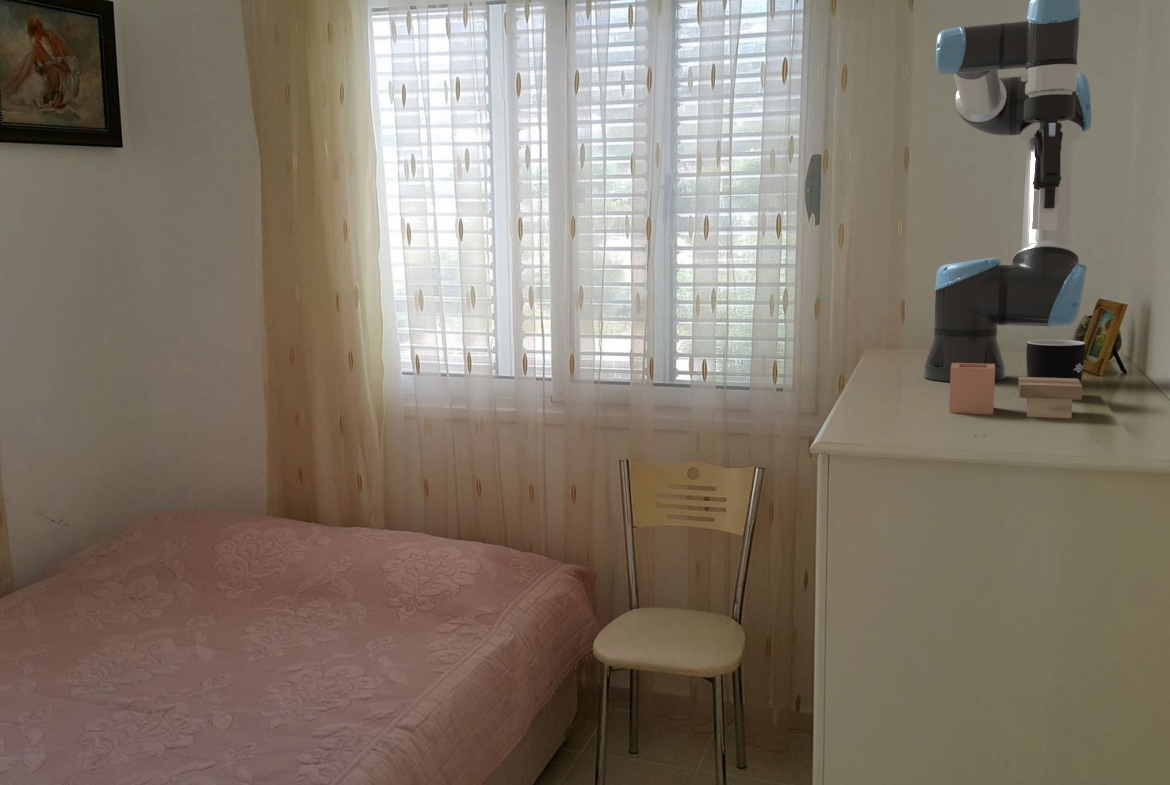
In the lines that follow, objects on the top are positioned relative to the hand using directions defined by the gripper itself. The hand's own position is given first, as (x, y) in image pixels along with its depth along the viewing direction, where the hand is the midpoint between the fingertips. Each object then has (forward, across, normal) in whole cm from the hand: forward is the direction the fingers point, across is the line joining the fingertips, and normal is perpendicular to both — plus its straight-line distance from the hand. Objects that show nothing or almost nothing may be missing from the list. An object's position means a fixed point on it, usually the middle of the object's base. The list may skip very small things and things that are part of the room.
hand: (1043, 229), depth 166 cm
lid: (+25, +16, 0) cm, 30 cm away
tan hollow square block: (+29, +15, -10) cm, 34 cm away
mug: (+29, -4, +3) cm, 29 cm away
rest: (+29, +16, 0) cm, 33 cm away
